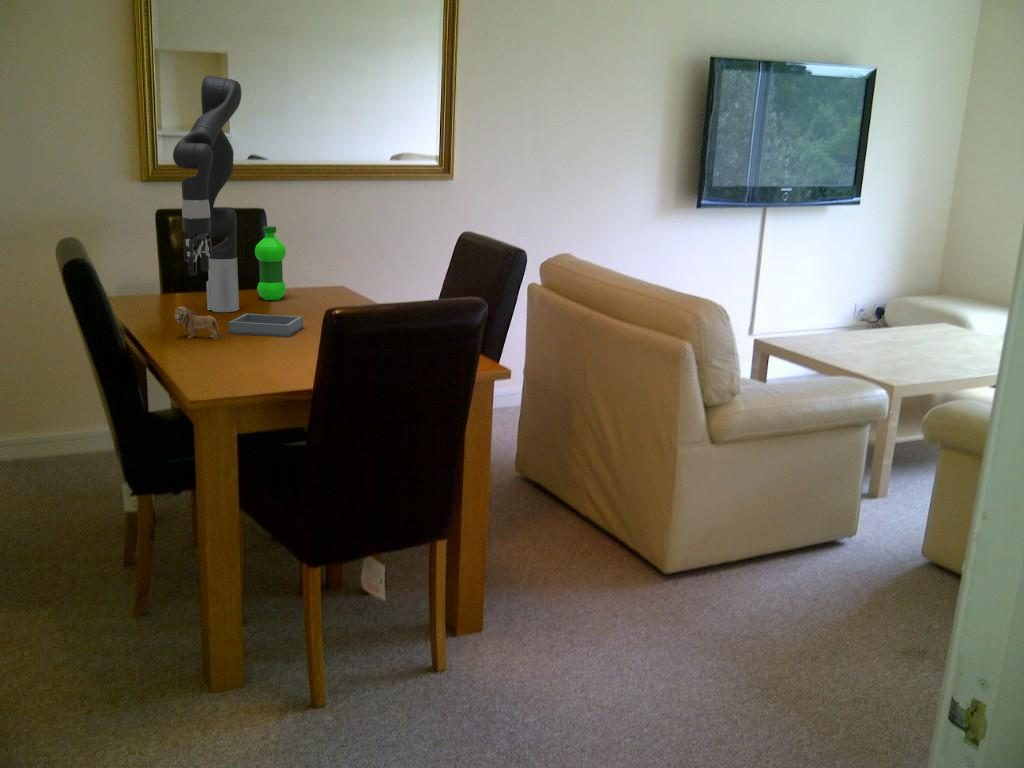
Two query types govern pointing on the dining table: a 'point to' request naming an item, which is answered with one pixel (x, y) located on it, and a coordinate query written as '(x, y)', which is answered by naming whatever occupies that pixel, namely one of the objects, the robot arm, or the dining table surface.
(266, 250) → the plastic bottle
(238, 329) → the tray
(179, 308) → the lion figurine
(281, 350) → the dining table surface
